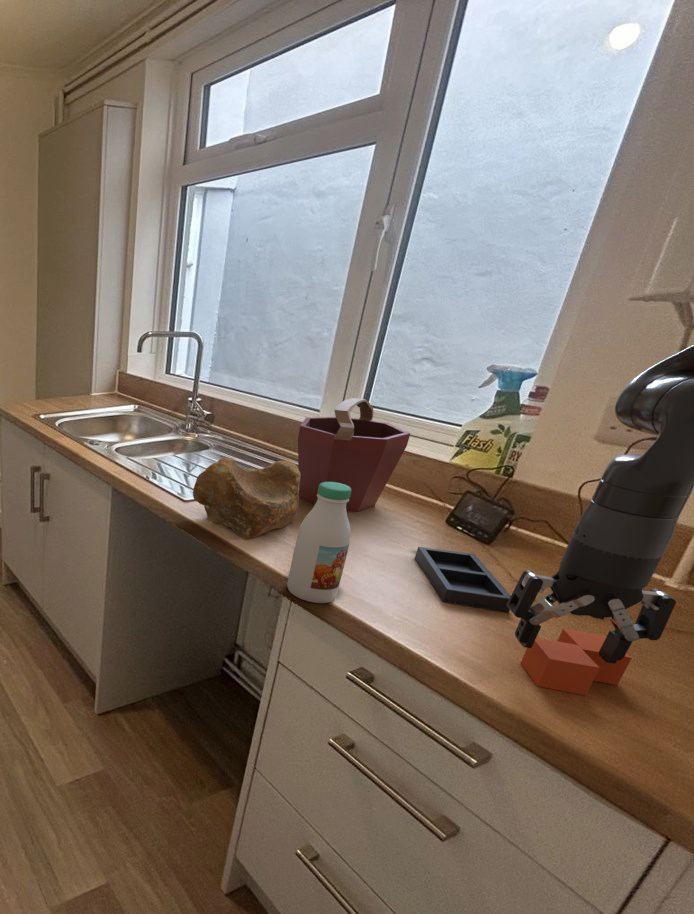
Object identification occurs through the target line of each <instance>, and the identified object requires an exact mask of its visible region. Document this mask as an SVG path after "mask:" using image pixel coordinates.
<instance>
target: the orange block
mask: <svg viewBox="0 0 694 914" xmlns="http://www.w3.org/2000/svg"><path fill="white" fill-rule="evenodd" d="M606 637H607V635H604V634H600V633H599V634H598V633H593V632H586V631H580V630H575V629H567V628H562V630H561V632H560V634H559V636H558V638H557V642H563V643H569V644H575V645H579V646H580V647H581V649H582V650H583V651H584V652H585V653H586V654H587V655H588V656H589V657H590V658H591V659H592V660H593V661H594V662H595V663H596V664H597V666H598V667H599V670H598V672H597V674H596V676H595V678H594V680H593V682H598V683H605V684H609V685H616V686H618V685H619V683H620V681H621V679H622V678H623V676H624V675H625V672H626V670H627V668H628V667H629V665H630V663H631V660H632V656H631V655H629V653H628V652H627V653H626V655H625V657H624V658H623V659H621V660H617V662H616V663H615V664H613V663H607V662H605V661H604V660H603V659H602V658H601V657H600V655H599V650H600V648H601V647H602V645H603V643H604V641H605V639H606Z"/></svg>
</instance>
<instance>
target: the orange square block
mask: <svg viewBox="0 0 694 914" xmlns="http://www.w3.org/2000/svg"><path fill="white" fill-rule="evenodd" d="M557 641H558V640H557ZM557 641H556V640H552V639H545V638H540V637H536V639H535V642H534V644H533V646H532V648H526V649H525V651H524V654H523V656H522V658H521V660H520V665H521V667H522V668H523V669H524V670H525V671H526V673H527V674H528V676H529V677H530V678H531V680H532V681H533V682H534V683H535V685H536V686H537V687H540V688H545V689H550V690H555V691H560V692H565V693H571V694H575V695H579V696H587V694H588V692H589V690H590V688H591V686H592V684H593V682H594V681H593V680H594V678H595V676H596V674H597V672H598V670H599V667H598V666H597V664H596V663H595V662H594V661H593V660H592V659H591V658H590V657H589V656H588V655H587V654H586V653H585V652H584V651H583V650H582V649H581V647H580V646H579V645H575V644H569V643H563V642H557Z"/></svg>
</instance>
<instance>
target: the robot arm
mask: <svg viewBox="0 0 694 914" xmlns="http://www.w3.org/2000/svg"><path fill="white" fill-rule="evenodd" d="M614 414H615V417H616V419H617V420H618V422H620V424H622V425H623V426H626V427H627V428H629V429H632V430H635V431H638V432H642V433H646V434H650V435H654V436H657V437H656V439H655V441H653V443H652V444H651V446H650V447H649V448H648V449H647V450H646V451H644V452H643V453H628V454H627V453H626V454H622V455H621V454H620V455H618V456H615V457H614V458H612V459H611V460H610V461H609V462H608V463H607V465H606V467H605V469H604V471H603V472H602V475H601V476H600V479H599V480H598V483H597V485H596V488H595V490H594V492H593V494H592V496H591V499H590V501H589V503H588V504H587V506H586V508H584V510H583V511H582V513H581V515H580V517H579V518H578V521H577V524H575V527H574V529H573V533H572V535H571V538H570V539H569V541H568V544H567V546H566V549H565V551H564V553H563V555H562V558H561V560H560V563H559V568H558V570H557V572H555V574H554V575H552V576H546V575H541V574H536V573H535V572H534V571H533V570H532V569H531V570H530V569H526V570H524V571H523V572H522V573H521V575H520V577H519V579H518V581H517V583H516V585H515V587H514V589H513V591H512V593H511V594H510V595H511V597H510V599H509V601H508V603H507V607H508V608H509V609H510V612H511V613H512V614H513V615H514V616H515V617H516V618H518V619H520V620H519V621H518V624H517V627H516V629H515V632H514V637H515V638H516V639H517V641H518V643H519V644H520V645H521V646H522V648H526V649H527V648H532V646H533V644H534V642H535V639H536V638H538V635H539V633H540V630H541V629H542V625H541V624H543V623H545V622H547V621H549V620H551V619H553V618H555V619H558V618H559V619H560V618H561V617H563V616H565V615H567V614H569V613H570V615H572V616H573V615H574V616H578V617H579V616H582V617H583V616H587V617H591V618H593V619H597V620H605V619H606V618H608V620H609V622H610V624H611V625H612V628H613V629H614V630H609V631H608V633H607V635H606V636H607V637H606V639H605V641H604V643H603V645H602V647H601V648H600V650H599V655H600V657H601V658H602V659H603V660H604V661H605V662H607V663H613V664H615V663H616V662H617V660H621V659H623V658H624V657H625V655H626V653H627V654H628V651H629V649H630V647H631V645H632V643H633V642H636V641H638V640H639V639H642V640H643V639H648V640H649V641H658V640H659V639H661V637H662V635H663V633H664V631H665V628H666V626H667V624H668V622H669V620H670V618H671V615H672V613H673V611H674V609H675V606H676V604H677V601H676V600H675V598H673V597H672V596H671V595H670V594H668V593H666V592H665V591H663V590H662V589H661V588H652V589H650V590H643V589H644V588H646V587H648V586H649V583H650V581H651V579H652V577H653V575H654V573H655V571H656V570H657V568H658V566H659V564H660V562H661V560H662V558H663V556H664V554H665V552H666V550H667V548H668V547H669V545H670V543H671V541H672V539H673V537H674V534H675V531H676V528H677V523H678V521H679V518H680V516H681V514H682V512H683V511H684V509H685V506H686V505H687V502H688V501H689V499H690V497H691V495H692V494H693V491H694V344H693V345H690V346H689V347H687V348H685V349H683V350H680V351H679V352H677V353H675V354H673V355H671V356H669V357H667V358H665V359H664V360H661V361H659V362H658V363H656V364H654V365H652V366H650V367H648V368H647V369H645V370H644V371H642V372H640V374H639V375H638V374H637V376H636V377H634V378H633V379H631V380H630V382H629V383H627V385H625V386H624V388H623V389H622V390H621V392H620V393H619V395H618V397H617V398H616V401H615V404H614ZM547 588H550V591H549V592H546V593H545V594H542V595H540V596H539V597H538V598H537V596H538V594H539V593H540V594H541V593H544V590H545V589H547ZM536 598H537V600H536ZM534 601H535V602H534ZM556 602H557V603H558V604H556V605H554V603H556ZM639 603H640V604H641V605H642V606H641V609H640V611H639V614H638V615H637V618H636V620H635V622H633V621H632V619H631V617H630V615H629V613H628V611H627V610H628V609H629V608H631V607H634V606H635V605H637V604H639Z"/></svg>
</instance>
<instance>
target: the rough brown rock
mask: <svg viewBox="0 0 694 914" xmlns="http://www.w3.org/2000/svg"><path fill="white" fill-rule="evenodd" d="M300 477H301V475H300V471H299V469H298V465H296V464H295V463H294V462H292V461H288V460H277V461H275V462H273V463H271V464H270V465H268V466H265V467H263V468H260V469H257V468H248V467H243V466H240V465H239V464H238V463H237V461H236V459H234V458H233V457H221V458H219V459H218V460H217V461H216V462H214V463H212V464H210V465H209V466H207V467H206V469H205V470H204V471H202V472H201V473H199V474H198V475H197V477H196V480H195V483H194V486H193V491H192V497H193V500H194V501H196V502H197V503H199V504H200V505H203V507H204V511H205V513H206V517H207V520H208V521H210V522H211V523H214V524H223V525H224V526H225V527H227V528H229V529H232V530H233V532H235V534H237V536H239V537H241V538H242V539H244V540H248V539H253V538H256V537H260V536H261V535H263V534H265V533H268V532H269V531H271V530H274V529H282V528H285V527H287V526H288V525H290V523H291V522H292V521H293V519H294V517H295V516H296V514H297V512H298V509H299V505H300V497H299V485H300Z"/></svg>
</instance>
